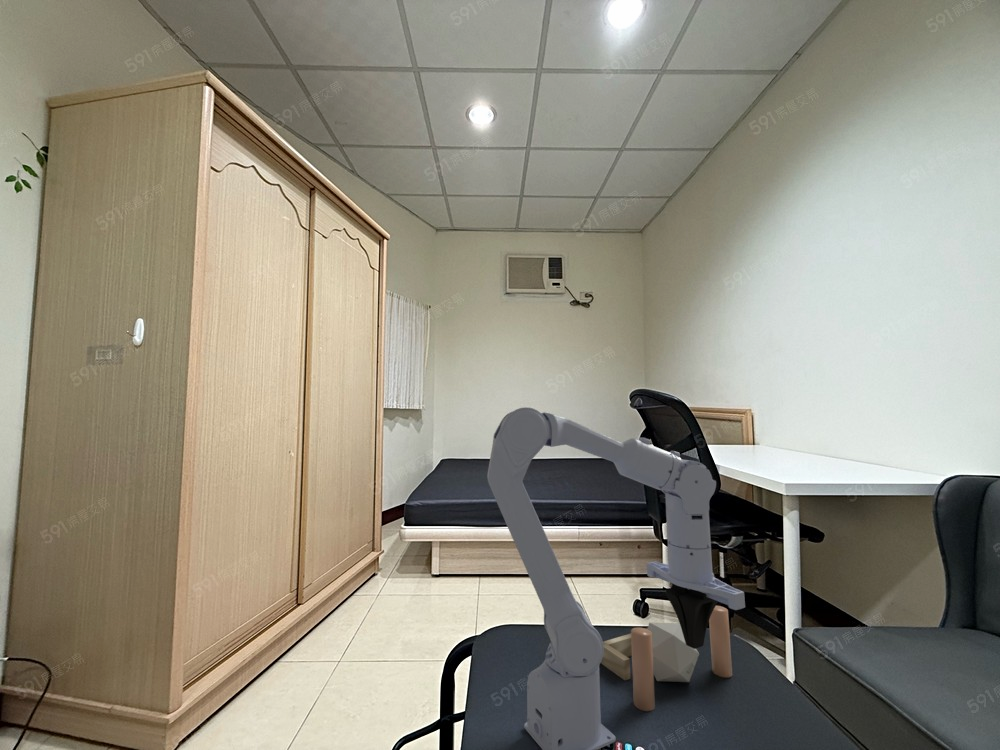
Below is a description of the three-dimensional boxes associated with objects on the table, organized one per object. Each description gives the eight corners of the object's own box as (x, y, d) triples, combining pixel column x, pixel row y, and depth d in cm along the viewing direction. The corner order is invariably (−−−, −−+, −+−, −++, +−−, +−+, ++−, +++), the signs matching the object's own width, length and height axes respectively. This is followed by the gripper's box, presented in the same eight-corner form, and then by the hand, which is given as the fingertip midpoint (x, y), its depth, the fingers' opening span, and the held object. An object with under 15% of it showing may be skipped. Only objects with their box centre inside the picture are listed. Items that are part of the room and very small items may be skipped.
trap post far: (724, 679, 68) (720, 614, 70) (708, 670, 71) (704, 607, 72) (736, 674, 70) (731, 610, 71) (719, 665, 72) (715, 604, 74)
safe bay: (624, 680, 68) (624, 660, 68) (598, 661, 74) (597, 643, 74) (685, 658, 75) (684, 640, 75) (656, 642, 80) (656, 625, 81)
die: (691, 704, 63) (714, 641, 67) (638, 666, 66) (662, 607, 69) (674, 694, 70) (695, 637, 74) (627, 660, 73) (649, 607, 76)
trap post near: (644, 713, 60) (641, 638, 61) (629, 701, 63) (626, 630, 64) (659, 707, 61) (656, 634, 63) (643, 695, 64) (641, 625, 65)
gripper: (755, 553, 56) (764, 663, 54) (667, 530, 69) (671, 618, 67) (721, 560, 53) (729, 677, 51) (635, 535, 65) (639, 628, 64)
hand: (694, 645), depth 59 cm, fingers closed
